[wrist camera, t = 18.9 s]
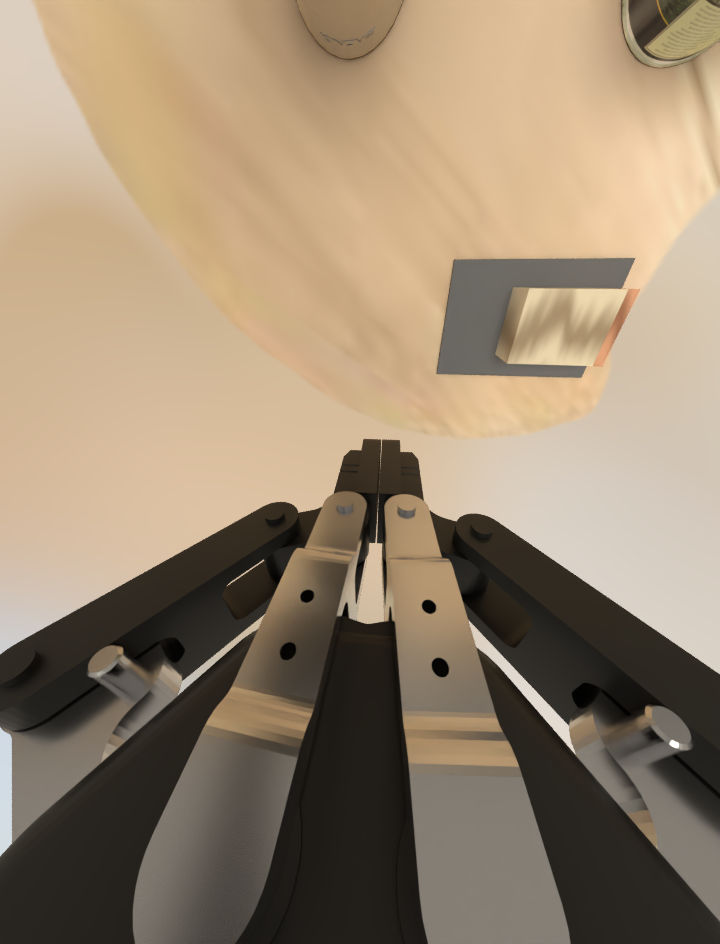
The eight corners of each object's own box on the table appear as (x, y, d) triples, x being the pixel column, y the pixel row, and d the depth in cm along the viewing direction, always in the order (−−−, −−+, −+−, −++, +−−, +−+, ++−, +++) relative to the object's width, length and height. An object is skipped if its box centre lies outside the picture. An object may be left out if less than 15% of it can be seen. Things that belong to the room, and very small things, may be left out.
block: (529, 288, 27) (639, 289, 26) (513, 287, 30) (609, 288, 30) (506, 363, 31) (602, 366, 30) (495, 354, 34) (579, 356, 34)
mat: (454, 259, 30) (454, 259, 30) (632, 258, 28) (635, 258, 28) (436, 373, 37) (437, 373, 36) (579, 376, 35) (581, 377, 35)
